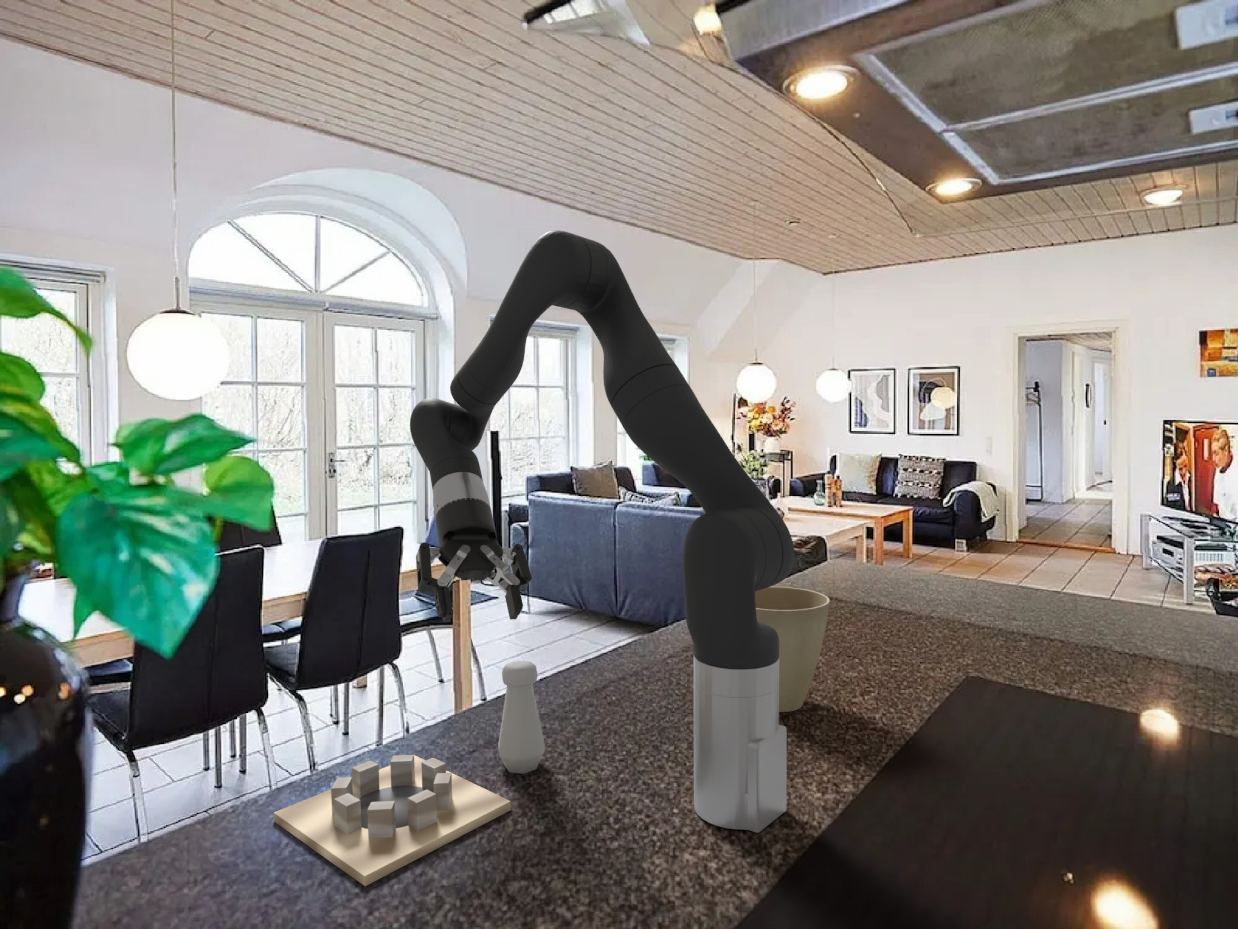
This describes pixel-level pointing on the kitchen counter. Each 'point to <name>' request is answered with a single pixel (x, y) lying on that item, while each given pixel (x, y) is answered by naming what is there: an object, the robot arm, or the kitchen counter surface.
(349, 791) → the stonehenge model
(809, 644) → the plant pot
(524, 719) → the salt shaker
